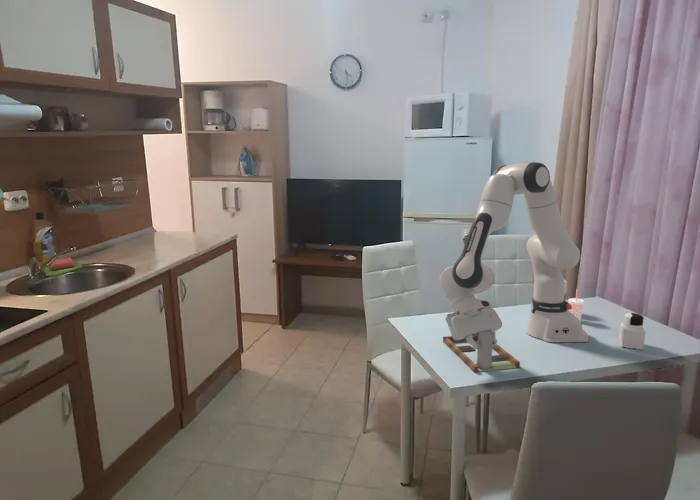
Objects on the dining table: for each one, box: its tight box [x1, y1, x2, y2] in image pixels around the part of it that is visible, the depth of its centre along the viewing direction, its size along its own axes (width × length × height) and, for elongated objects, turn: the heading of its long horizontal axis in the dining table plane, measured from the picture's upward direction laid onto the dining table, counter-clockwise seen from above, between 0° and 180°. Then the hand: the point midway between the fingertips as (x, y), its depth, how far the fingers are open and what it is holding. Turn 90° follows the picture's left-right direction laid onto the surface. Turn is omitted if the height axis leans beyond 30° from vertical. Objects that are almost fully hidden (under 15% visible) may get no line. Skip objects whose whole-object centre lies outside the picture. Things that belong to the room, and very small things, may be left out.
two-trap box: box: [442, 335, 521, 373], centre depth 183 cm, size 27×16×2 cm, turn 12°
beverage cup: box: [567, 288, 585, 321], centre depth 215 cm, size 6×6×14 cm
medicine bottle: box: [618, 312, 646, 350], centre depth 189 cm, size 7×7×12 cm
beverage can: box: [476, 331, 493, 369], centre depth 170 cm, size 5×5×12 cm
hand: (486, 346), depth 170 cm, fingers open, 6 cm apart
